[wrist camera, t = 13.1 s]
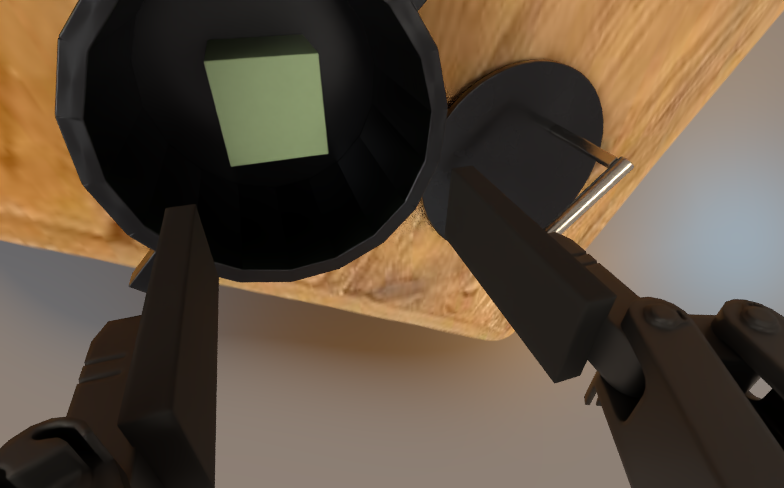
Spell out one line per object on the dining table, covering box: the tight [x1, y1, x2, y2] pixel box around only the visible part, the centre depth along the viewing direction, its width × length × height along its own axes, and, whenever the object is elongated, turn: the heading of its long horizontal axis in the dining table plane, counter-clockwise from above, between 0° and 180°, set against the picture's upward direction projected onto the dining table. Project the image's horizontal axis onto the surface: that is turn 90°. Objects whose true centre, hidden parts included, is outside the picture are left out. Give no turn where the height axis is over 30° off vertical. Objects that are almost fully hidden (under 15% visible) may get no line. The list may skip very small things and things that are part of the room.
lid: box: [421, 60, 634, 241], centre depth 30 cm, size 16×16×8 cm
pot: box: [55, 0, 448, 293], centre depth 20 cm, size 15×20×10 cm
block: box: [204, 34, 329, 167], centre depth 21 cm, size 5×5×5 cm
